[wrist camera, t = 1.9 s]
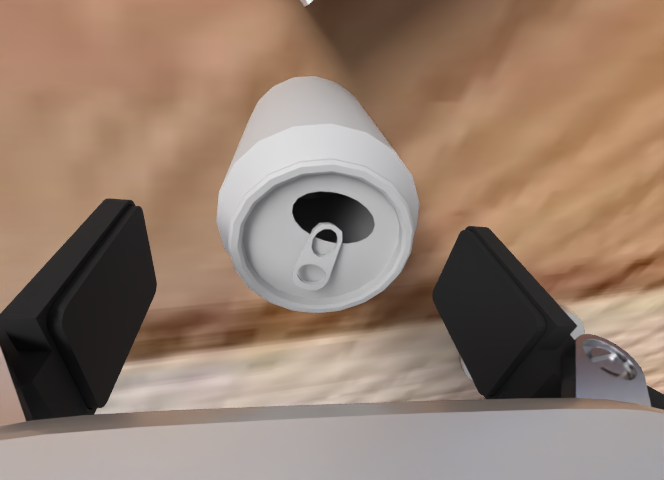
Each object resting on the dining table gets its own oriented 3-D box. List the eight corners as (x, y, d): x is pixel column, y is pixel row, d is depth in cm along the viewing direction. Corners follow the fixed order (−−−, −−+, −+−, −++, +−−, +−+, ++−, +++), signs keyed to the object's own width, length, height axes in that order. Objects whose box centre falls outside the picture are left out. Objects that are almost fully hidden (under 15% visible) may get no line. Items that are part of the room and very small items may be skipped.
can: (389, 105, 20) (482, 195, 10) (338, 206, 24) (370, 344, 14) (271, 48, 18) (243, 93, 8) (234, 170, 21) (184, 304, 12)
